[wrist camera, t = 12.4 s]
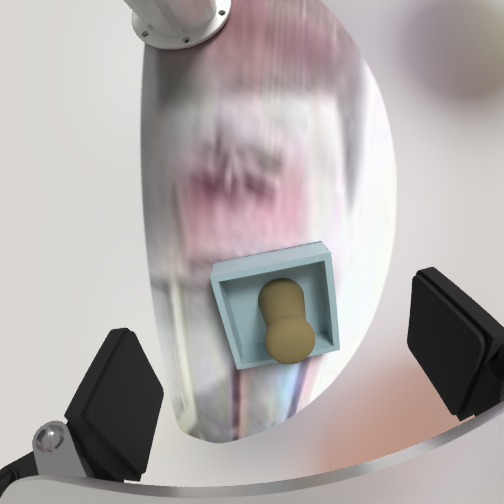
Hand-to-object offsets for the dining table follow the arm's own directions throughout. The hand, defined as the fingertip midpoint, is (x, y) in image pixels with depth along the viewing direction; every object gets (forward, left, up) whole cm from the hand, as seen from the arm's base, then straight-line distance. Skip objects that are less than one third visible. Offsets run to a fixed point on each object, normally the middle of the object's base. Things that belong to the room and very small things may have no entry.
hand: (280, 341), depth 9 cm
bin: (+13, 0, -27) cm, 30 cm away
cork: (+13, +1, -27) cm, 30 cm away
